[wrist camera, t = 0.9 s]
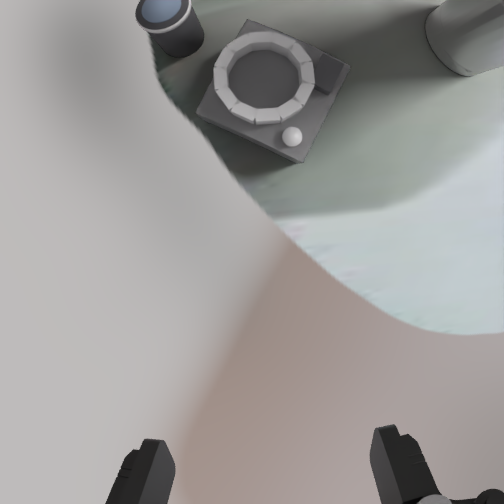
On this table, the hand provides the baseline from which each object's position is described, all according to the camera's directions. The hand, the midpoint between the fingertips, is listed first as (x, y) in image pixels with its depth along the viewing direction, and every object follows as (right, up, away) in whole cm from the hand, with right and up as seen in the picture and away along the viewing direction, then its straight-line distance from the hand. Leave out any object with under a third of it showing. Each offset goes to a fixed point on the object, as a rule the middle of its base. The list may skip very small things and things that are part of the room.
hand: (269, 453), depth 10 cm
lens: (-8, +30, +17) cm, 35 cm away
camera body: (+1, +23, +19) cm, 29 cm away
